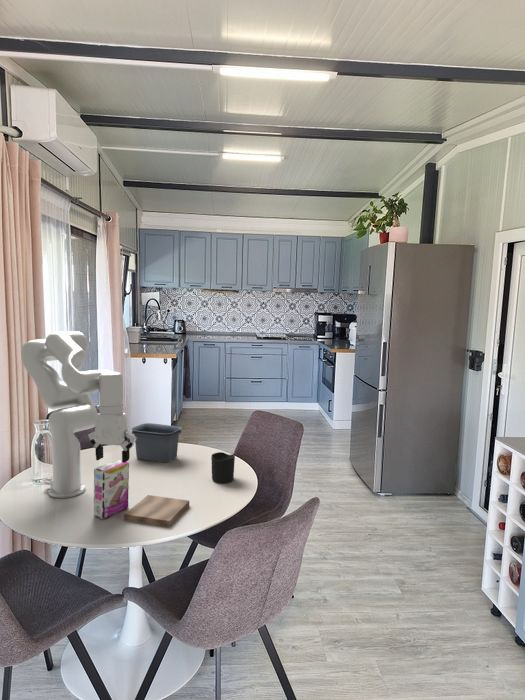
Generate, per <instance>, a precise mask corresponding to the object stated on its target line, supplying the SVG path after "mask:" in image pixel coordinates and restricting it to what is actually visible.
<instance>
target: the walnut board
mask: <svg viewBox="0 0 525 700" xmlns="http://www.w3.org/2000/svg"><path fill="white" fill-rule="evenodd" d="M189 507H190V500H187V499H180V498H171V497H166V496H157V495H150V494H147V495H146V496H145V497H143V499H141V500H140V501H139V502H137V503H136V504H135V505H133V507H131V508H130V509H128V510H127V511H126V512H125V513H124V515H123V519H124V521H129V522H134V523H142V524H147V525H148V524H149V525H154V526H155V525H156V526H160V527H166V528H170V527H171V526H172V525H173V524H174V523H175V522H176V521H177V520H178V518H179V517H181V516H182V515H183V514H184V512H185V511H186V510H187V509H188V508H189Z"/></svg>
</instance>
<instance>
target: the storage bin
mask: <svg viewBox="0 0 525 700" xmlns="http://www.w3.org/2000/svg"><path fill="white" fill-rule="evenodd" d="M182 428H183V427H181V426H176V425H169V424H159V423H149V422H147V423H146V422H145V423H141V424H138V425H136V426H133V427H131V428H130V430H131V434H132V435H134V436H135V437H136V441H135V443H134V445H135V454H136V459H138V460H144V461H150V462H151V461H152V462H158V463H163V464H164V463H165V464H166V463H167V464H168V463H170V462H172V461H173V460H175V459H176V458H177V457H178V446H179V437H180V436H179V435H180V434H182Z"/></svg>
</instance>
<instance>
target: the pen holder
mask: <svg viewBox="0 0 525 700" xmlns="http://www.w3.org/2000/svg"><path fill="white" fill-rule="evenodd" d="M210 457H211V480H212V482H214V483H216V482H217V483H216V484H229V483H231V482H233V481H234V476H235V475H234V474H235V461H236V460H235V459H236V458H235V457H236V456H235V454H233V453H232V454H228V453H226V452H223V451H222V452H221V451H220V452H219V451H218V452H214V453H213V454H211V456H210ZM228 482H229V483H228Z"/></svg>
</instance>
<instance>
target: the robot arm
mask: <svg viewBox="0 0 525 700" xmlns="http://www.w3.org/2000/svg"><path fill="white" fill-rule="evenodd" d="M87 348H88V339H87V337H86V335H85V334H84V333H82V332H80V331H78V330H77V331H76V330H70V331H69V330H67V331H66V330H65V331H54V332H52V333H50V334H48V335H47V337H46V338H40V339H39V338H37V339H32V340H29V341H26V342H25V343H24V344H23V345H22V346H21V350H20V357H21V361H22V364H23V367H24V369H25V370H26V372H27V373H28V374H29V376H30V377H31V379H32V380H33V381H34V383H35V386H36V388H37V389H38V393H39V395H40V397H41V398H42V399H41V400H42V401H43V404H44V405H45V406H46V408H48V409H50V410H54V411H52V412H51V413H50V415H49V417H48V426H49V430H50V431H49V432H50V435H51V447H52V448H51V449H52V451H51V452H52V477H50V476H49V477H47V478H46V480H45V481H44V484H45V486H50V487H49V489H48V495H49V496H50V497H52V498H55V499H56V498H57V499H68V498H73V497H76V496H80V495H81V494H83V493H84V492H85V490H86V485H85V484H84V483H82V480H81V478H82V477H81V476H82V475H81V473H82V472H81V470H82V469H81V464H82V463H81V443H80V441H79V439H78V438H77V436H76V435H75V433H78V432H82V431H85V430H86V431H87V430H90V429H92V428H94V431H92V432H91V433H89V434H87V435H88V438H89V440H90V443H91V444H92V445H93V448H94V449H95V460H96V461H99V460H101V459H103V458H104V446H105V445H106V446H120V447H121V449H122V451H121V460H122V462H123V463H125V462H128V461H129V460H130V457H131V456H130V449H131V448H132V447H133V446H134V445H135V441H136V437H135V436H134V434H132V432H129V428H128V420H127V415H126V413H125V412H124V377H123V374H122V373H121V372H118V371H111V370H109V369H93V370H85V371H79V369H80V368H81V367H83V365H85V363H86V360H87V354H86V353H87V352H85V351H86V350H87ZM51 361H58V362H59V363H60V364H61V372H60V373H61V377H62V379H61V378H60V375H59V373H58V372H57V370H56V369H55V368H54V367H53V366H51V365H49V364H48V363H46V362H51ZM95 393H98V394H99V395H98V398H99V399H98V401H99V403H98V405H95V404H94V401H93V399H92V397H91V395H90V394H95ZM98 411H99V413H98ZM128 441H129V442H128ZM103 445H104V446H103Z"/></svg>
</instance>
